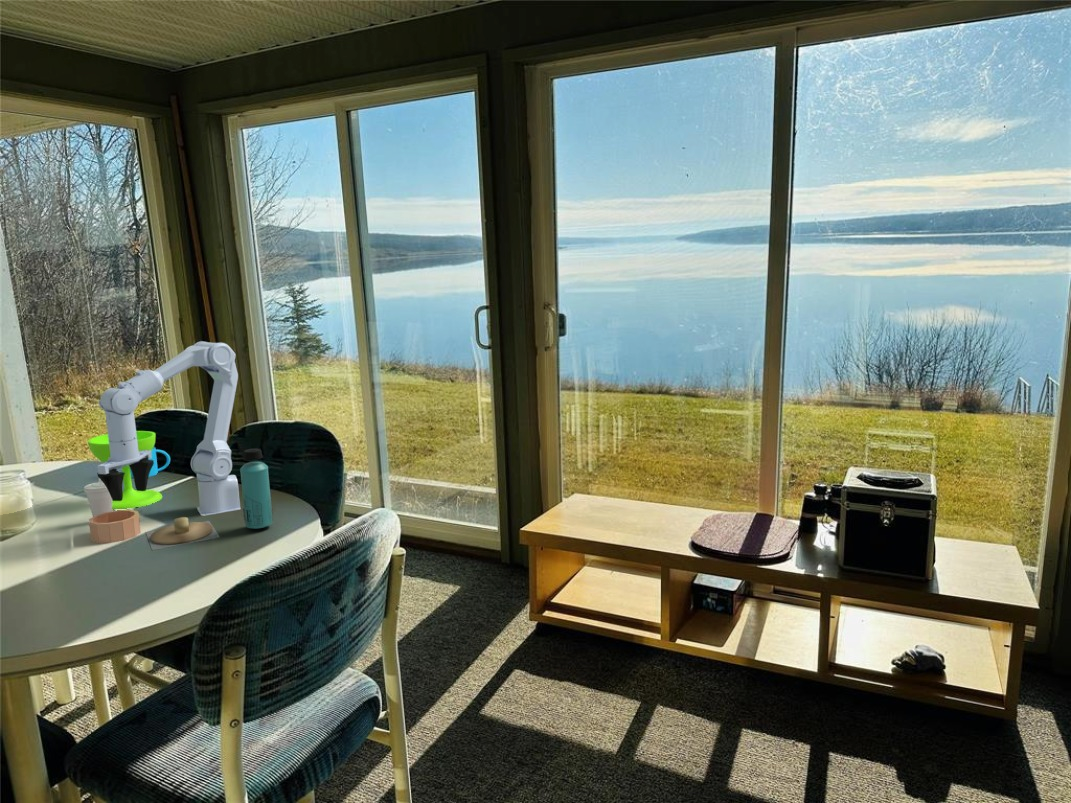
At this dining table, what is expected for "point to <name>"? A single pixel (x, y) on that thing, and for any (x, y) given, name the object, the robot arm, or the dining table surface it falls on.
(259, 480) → the beverage bottle
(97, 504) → the smoothie
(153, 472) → the mug
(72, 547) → the dining table surface
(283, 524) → the dining table surface
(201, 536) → the lid
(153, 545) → the mat
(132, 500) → the wineglass
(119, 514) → the bowl
